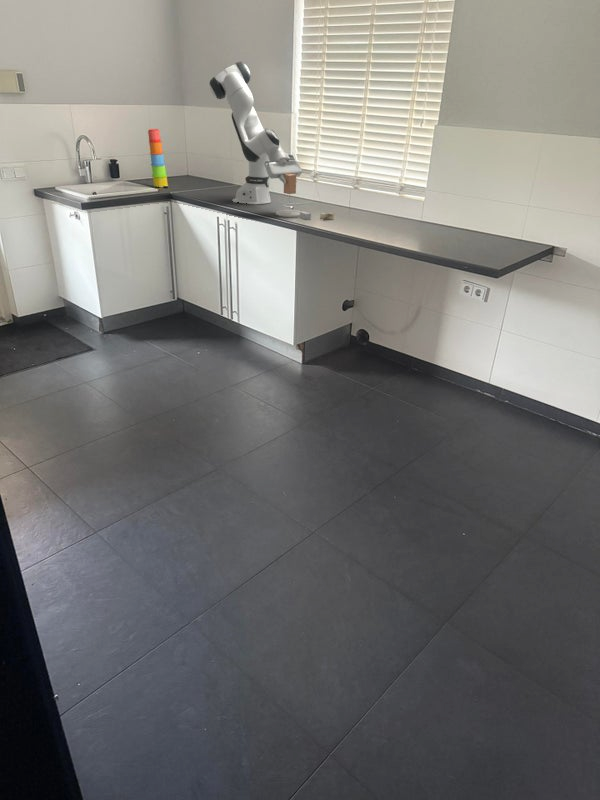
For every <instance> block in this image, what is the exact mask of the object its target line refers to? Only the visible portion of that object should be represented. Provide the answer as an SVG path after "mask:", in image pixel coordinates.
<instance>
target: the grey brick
mask: <svg viewBox="0 0 600 800" xmlns="http://www.w3.org/2000/svg"><path fill="white" fill-rule="evenodd" d="M302 218H303V219H302ZM311 218H312V213H310V212H307V211H303V212H300V217H299V219H302V220H305V219H308V220H311Z"/></svg>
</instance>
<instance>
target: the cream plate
mask: <svg viewBox="0 0 600 800" xmlns="http://www.w3.org/2000/svg"><path fill="white" fill-rule="evenodd" d="M300 212H304V211H302V210H299V209H280V210H276V211H275V215H276V216H277V215H278V216H277V217H281V216H282V217H283V218H300Z"/></svg>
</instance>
